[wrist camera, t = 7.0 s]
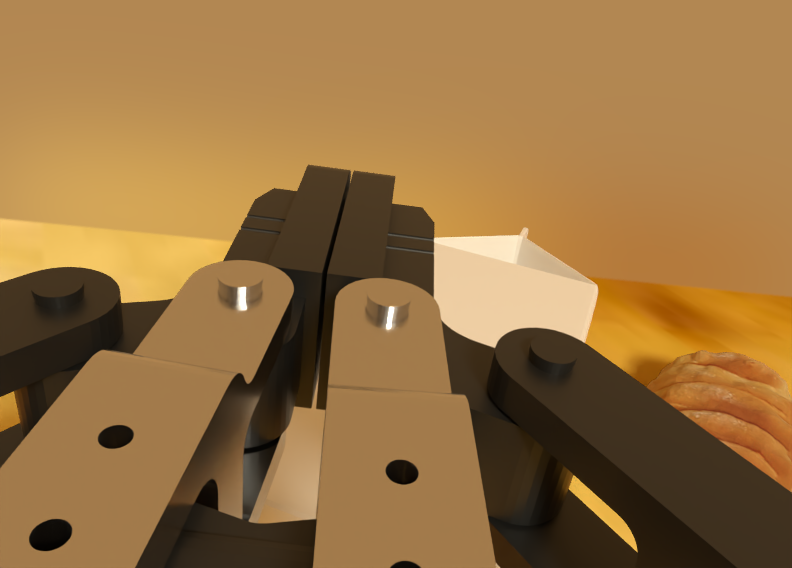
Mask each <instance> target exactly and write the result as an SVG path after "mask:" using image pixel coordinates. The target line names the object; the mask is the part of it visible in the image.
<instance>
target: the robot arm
mask: <svg viewBox="0 0 792 568" xmlns="http://www.w3.org/2000/svg"><path fill="white" fill-rule="evenodd" d="M350 177H351V171H350V170H344V169H336V168H329V167H321V166H314V165H308V166H307V169H306V171H305V173H304V176H303V178H302V181H301V183H300V186H299V188H298V191H290V190H283V189H275V188H274V189H272V190H270V191H269V192H267V193H265V194H264V195H262V196H261V197H259V198H257V199H255V201H254V203H253V205H252V207H251V209H250V211H249V213H248V214H247V217H246V218H245V220H244V222H243V224H242V226H241V230H239V232H238V234H237V236H236V237H235V239H234V241H233V243H232V245H231V247H230V249H229V251H228V253H227V255H226V257H225V259H224V261H223V262H218V263H214V264H211V265H208V266H205V267H203V268H201V269H199V270H198V271H196V272H195V273H193V274H192V275H191V276H190V278H189V279H188V280H187V281H186V283H185V284H184V285H183V287H182V288H181V290H180V291H179V292H178V294H177V295H176V296H175V298H174V299H169V300H161V301H148V302H132V303H121V296H120V289H119V286H118V284H117V283H116V282H115V281H114V280H113V279H112V278H111V277H109V276H108V275H106V274H104V273H101V272H99V271H95V270H92V269H86V268H78V267H60V268H51V269H45V270H40V271H36V272H33V273H29V274H26V275H23V276H20V277H17V278H14V279H11V280H7V281H4V282H1V283H0V397H1V396H4V395H6V394H8V393H11V392H13V391H14V394H15V399H16V403H17V408H18V413H19V418H20V423H19V424H17V425H15V426H13V427H10V428H8V429H6V430H4V431H2V432H0V568H496V563H497V565H498V566H499V567H500V568H792V492H790V491H789V490H788V489H786V488H785V487H784V486H782V485H781V484H779V483H778V482H777V481H775V480H774V479H772V478H771V477H770V476H768V475H767V474H766V473H764V472H763V471H761V470H760V469H759V468H757V467H756V466H754V465H753V464H752V463H750V462H749V461H748V460H746V459H745V458H743V457H742V456H741V455H739V454H738V453H737V452H735V451H734V450H732V449H731V448H730V447H728V446H727V445H725V444H724V443H723V442H721V441H720V440H719V439H717V438H716V437H714V436H713V435H712V434H710V433H709V432H707V431H706V430H705V429H703V428H702V427H701V426H699V425H698V424H696V423H695V422H694V421H692V420H691V419H689V418H688V417H687V416H685V415H684V414H683V413H681V412H680V411H678V410H677V409H676V408H674V407H673V406H672V405H670V404H669V403H667V402H666V401H665V400H663V399H662V398H660V397H659V396H658V395H656V394H655V393H654V392H652V391H651V390H649V389H648V388H647V387H645V386H644V385H642V384H641V383H640V382H638V381H637V380H636V379H634V378H633V377H631V376H630V375H629V374H627V373H626V372H625V371H623V370H622V369H620V368H619V367H618V366H616V365H615V364H613V363H612V362H611V361H609V360H608V359H607V358H605V357H604V356H602V355H601V354H600V353H598V352H597V351H595V350H594V349H593V348H591V347H590V346H589V345H587V344H585V343H584V342H582V341H581V340H579V339H577V338H575V337H573V336H570V335H568V334H565V333H562V332H559V331H556V330H551V329H546V328H520V329H516V330H513V331H510V332H508V333H506V334H505V335H503V336H502V337H501V338H500V339H499V340H498V342H497V344H496V347H495V348H494V347H491V346H488V345H485V344H482V343H479V342H476V341H474V340H471V339H469V338H466V337H464V336H462V335H460V334H458V333H457V332H455V331H454V330H452V329H451V328H450V327H448V326H447V325H446V324H445V323H444V322H443V321H442V320H441V315H440V309H439V305H438V304H437V302H436V300H435V299H434V222H433V221H432V219H431V218H430V217H429V216H428V214H427V213H426V212H425V211H424V209H423V208H421V207H414V206H405V205H398V204H392V199H393V190H394V183H395V176H390V175H382V174H375V173H368V172H360V171H354V172H353V175H352V179H351V183H350ZM318 377H319V379H318ZM317 382H318V391H317V403H316V409H320V410H325V419H324V429H323V440H322V451H321V462H320V474H319V486H318V497H317V509H316V519H309V520H298V521H287V522H276V523H258V520H259V518H260V515H261V512H262V509H263V507H264V504H265V501H266V498H267V496H268V493H269V490H270V487H271V485H272V482H273V479H274V476H275V474H276V471H277V468H278V465H279V463H280V460H281V457H282V454H283V452H284V448H285V443H286V429H287V427H288V426H289V424H290V421H291V418H292V414H293V410H294V407H302V408H310V409H311V408H312V404H313V399H314V395H315V390H316V386H317ZM573 475H575V476H576V477H577V478H578V479H579V480H580V481H581V482H582V483H583V484H585V485H586V486H587V487H588V488H589V489H590V490H591V491H592V492H594V493H595V494H596V495H597V496H598V497H599V498H600V499H601V500H602V501H604V502H605V503H606V504H607V505H608V506H609V507H610V508H611V509H612V510H614V511H615V512H616V513H617V514H618V515H619V516H620V517H621V518H622V519H623V520H624V521H625V523H626V524H627V525H628V527H629V528H630V530H631V532H632V534H633V536H634V538H635V541H636V544H637V550H638V553H637V552H636V551H635V550H634V549H633V548H632V547H631V546H630V545H629V544H627V543H626V542H625V541H624V540H623V539H622V538H621V537H620V536H619V535H618V534H617V533H616V532H614V531H613V530H612V529H611V528H610V527H609V526H608V525H607V524H606V523H605V522H604V521H603V520H601V519H600V518H599V517H598V516H597V515H596V514H595V513H594V512H593V511H592V510H591V509H589V508H588V507H587V506H586V505H585V504H584V503H583V502H582V501H581V500H580V499H579V498H578V497H576V496H575V495H574V494H573V493H572V492H571V491H570V490H569V486H570V483H571V480H572V477H573Z"/></svg>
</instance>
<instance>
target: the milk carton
mask: <svg viewBox="0 0 792 568" xmlns="http://www.w3.org/2000/svg"><path fill="white" fill-rule="evenodd" d="M527 234H528V228H523V230H522V231H521V233H520V235H514V236H513V235H512V236H480V237H479V236H478V237H446V238H445V237H444V238H434V299H435V300H436V302H437V304H438V305H439V309H440V315H441V320H442V321H443V322H444V323H445V324H446V325H447V326H448V327H450V328H451V329H452V330H454V331H455V332H457V333H458V334H460V335H462V336H464V337H466V338H469V339H471V340H474V341H476V342H479V343H482V344H485V345H488V346H491V347H494V348H495V347H496V344H497V342H498V340H499V339H500V338H501V337H502V336H503V335H505V334H506V333H508V332H510V331H513V330H516V329H520V328H546V329H551V330H556V331H559V332H562V333H565V334H568V335H570V336H573V337H575V338H577V339H579V340H581V341H582V342H584V343H585V341H586V337H587V334H588V330H589V327H590V323H591V320H592V316H593V312H594V308H595V305H596V300H597V295H598V287H597V285H596V284H595V283H594V282H592V281H591V280H589V279H588V278H586V277H585V276H583V275H581V274H580V273H578V272H577V271H575V270H574V269H572V268H571V267H569V266H568V265H566V264H565V263H563V262H562V261H560V260H559V259H557V258H556V257H554V256H553V255H551V254H549V253H548V252H546V251H545V250H543V249H542V248H540V247H539V246H537V245H536V244H534V243H533V242H531V241H529V240H528V239H527ZM318 379H319V377H318ZM317 391H318V382H317V386H316V390H315V395H314V399H313V404H312V408H311V409H310V408H302V407H294V410H293V414H292V418H291V421H290V424H289V426H288V427H287V429H286V443H285V448H284V452H283V454H282V457H281V460H280V463H279V465H278V468H277V471H276V474H275V476H274V479H273V482H272V485H271V487H270V490H269V493H268V496H267V498H266V501H265V504H264V507H263V509H262V512H261V515H260V518H259V520H258V523H276V522H287V521H298V520H309V519H316V509H317V497H318V486H319V474H320V462H321V451H322V440H323V429H324V419H325V410H320V409H316V403H317ZM496 568H500V567H499V566H498V565H497V563H496Z"/></svg>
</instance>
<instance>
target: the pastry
mask: <svg viewBox="0 0 792 568" xmlns="http://www.w3.org/2000/svg"><path fill="white" fill-rule="evenodd" d="M647 388H648V389H649V390H651V391H652V392H654V393H655V394H656V395H658V396H659V397H660V398H662V399H663V400H665V401H666V402H667V403H669V404H670V405H672V406H673V407H674V408H676V409H677V410H678V411H680V412H681V413H683V414H684V415H685V416H687V417H688V418H689V419H691V420H692V421H694V422H695V423H696V424H698V425H699V426H701V427H702V428H703V429H705V430H706V431H707V432H709V433H710V434H712V435H713V436H714V437H716V438H717V439H719V440H720V441H721V442H723V443H724V444H725V445H727V446H728V447H730V448H731V449H732V450H734V451H735V452H737V453H738V454H739V455H741V456H742V457H743V458H745V459H746V460H748V461H749V462H750V463H752V464H753V465H754V466H756V467H757V468H759V469H760V470H761V471H763V472H764V473H766V474H767V475H768V476H770V477H771V478H772V479H774V480H775V481H777V482H778V483H779V484H781V485H782V486H784V487H785V488H786V489H788V490H789V491H790V492H792V398H791V396H790V394H789V391H788V386H787V383H786V381H785V380H784V379H782V378H781V377H780V375H779V374H778V373H776V372H775V371H774V370H772V369H771V368H769V367H768V366H766V365H765V364H764V363H761V362H759V361H756V360H754V359H752V358H750V357H747V356H745V355H743V354H738V353H730V352H723V353H710V352H707V351H702V350H701V351H698V352H696V353H692V354H687V355H684V356H681V357H677V358H676V360H675V361H674V362H672V363H670V364H668V365H667V366H666V367H665V368H663V369H662V370H661V372H660V374H659V376H658V377H657V378H656V379H655V380H653V381H651V382H650V383H649V384H648V386H647Z"/></svg>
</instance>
